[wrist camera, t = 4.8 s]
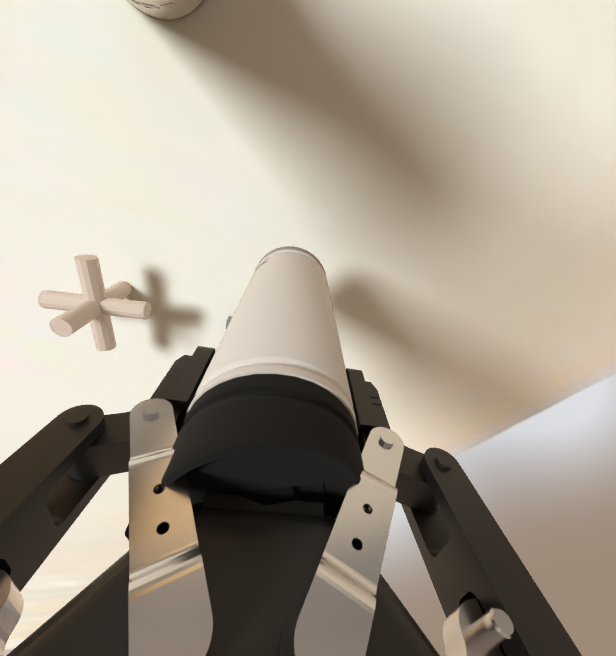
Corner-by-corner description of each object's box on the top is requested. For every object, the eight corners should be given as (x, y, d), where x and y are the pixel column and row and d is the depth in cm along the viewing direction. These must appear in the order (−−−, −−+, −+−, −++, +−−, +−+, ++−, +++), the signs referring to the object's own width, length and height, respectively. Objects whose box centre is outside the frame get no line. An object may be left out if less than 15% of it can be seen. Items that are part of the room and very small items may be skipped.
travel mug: (243, 250, 24) (70, 482, 6) (323, 241, 23) (382, 458, 6) (258, 317, 27) (169, 603, 9) (328, 310, 26) (378, 590, 9)
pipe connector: (163, 251, 32) (109, 280, 23) (171, 329, 37) (129, 378, 28) (68, 239, 31) (-24, 264, 22) (88, 320, 36) (18, 368, 27)
